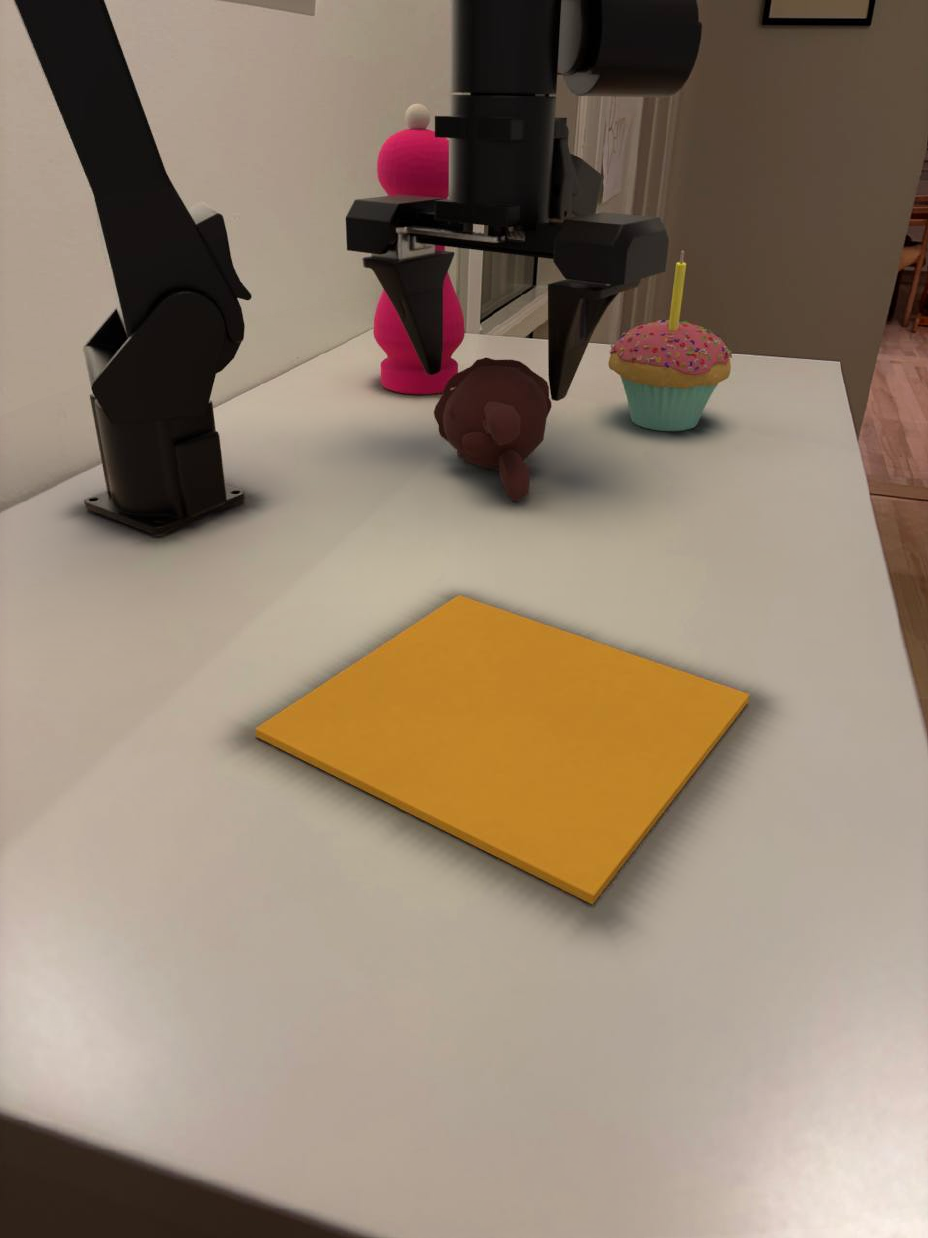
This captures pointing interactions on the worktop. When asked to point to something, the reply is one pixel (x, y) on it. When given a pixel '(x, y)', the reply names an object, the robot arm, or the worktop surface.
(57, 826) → the worktop surface
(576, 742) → the flat square board
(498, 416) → the brown lumpy figure
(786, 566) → the worktop surface
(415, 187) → the pepper mill
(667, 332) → the cupcake
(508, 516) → the worktop surface
